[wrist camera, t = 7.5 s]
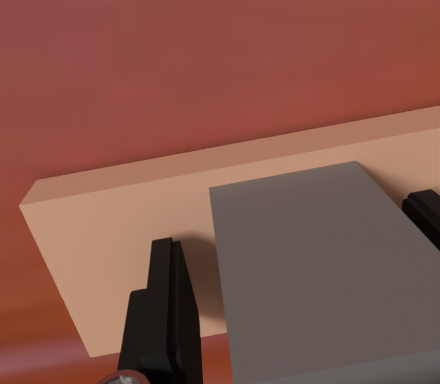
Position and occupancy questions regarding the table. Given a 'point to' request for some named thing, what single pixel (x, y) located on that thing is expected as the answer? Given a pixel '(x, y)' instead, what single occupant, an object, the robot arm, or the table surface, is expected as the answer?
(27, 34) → the table surface
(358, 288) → the stub
